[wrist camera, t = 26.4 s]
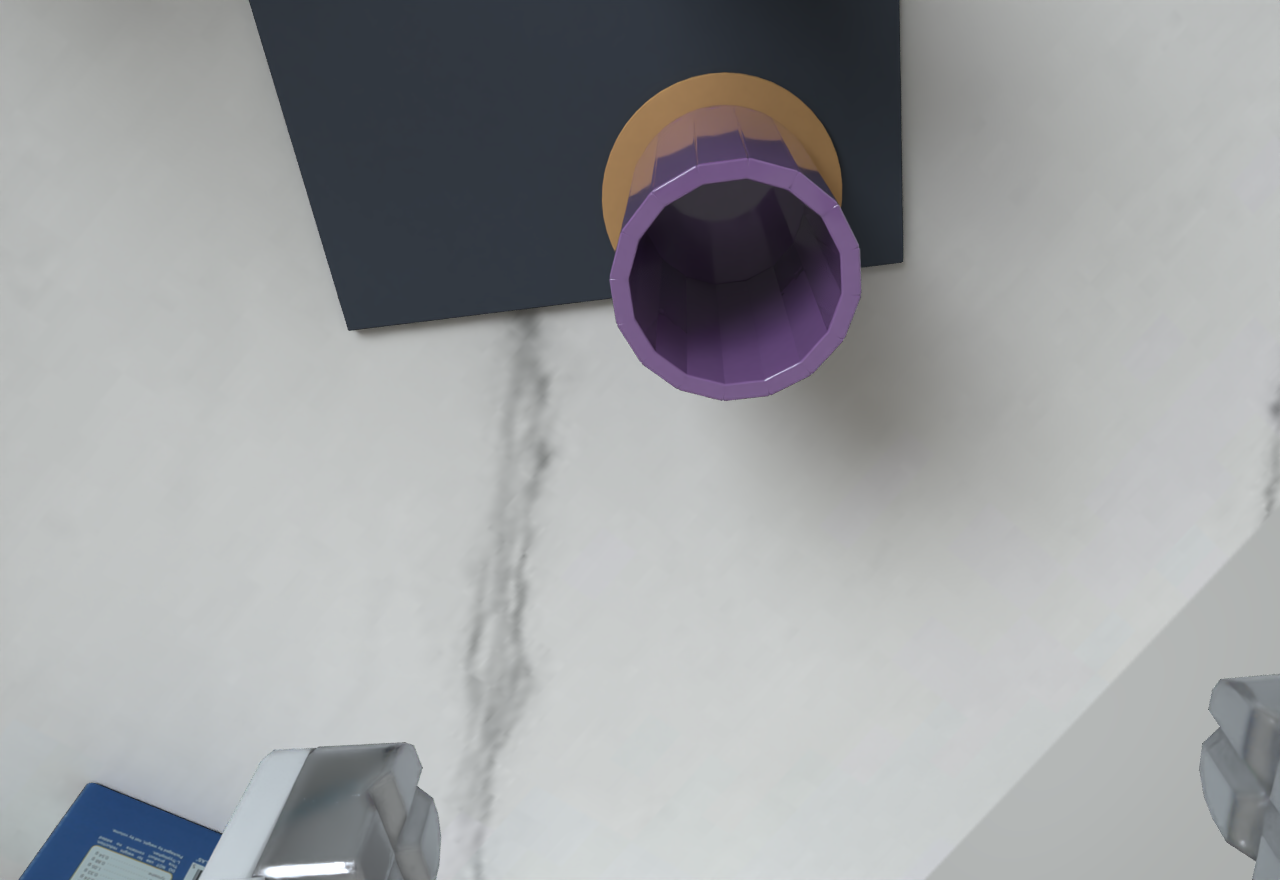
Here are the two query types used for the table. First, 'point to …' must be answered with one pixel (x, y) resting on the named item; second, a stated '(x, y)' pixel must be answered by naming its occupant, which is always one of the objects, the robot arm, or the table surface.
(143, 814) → the protein box
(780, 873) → the table surface
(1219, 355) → the table surface
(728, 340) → the purple cup
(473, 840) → the table surface
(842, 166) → the placemat
